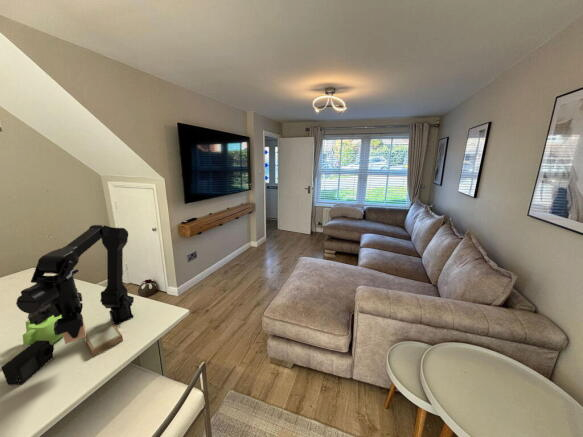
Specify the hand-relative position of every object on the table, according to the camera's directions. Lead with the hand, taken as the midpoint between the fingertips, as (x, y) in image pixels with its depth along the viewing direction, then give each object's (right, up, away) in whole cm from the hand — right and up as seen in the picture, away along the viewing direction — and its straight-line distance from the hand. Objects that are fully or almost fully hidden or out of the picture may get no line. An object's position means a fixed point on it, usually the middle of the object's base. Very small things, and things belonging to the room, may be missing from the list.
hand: (75, 332), depth 79 cm
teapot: (-19, -8, +11) cm, 23 cm away
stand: (+2, -8, +10) cm, 13 cm away
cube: (0, -1, 0) cm, 1 cm away
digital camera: (-12, -11, -2) cm, 17 cm away
